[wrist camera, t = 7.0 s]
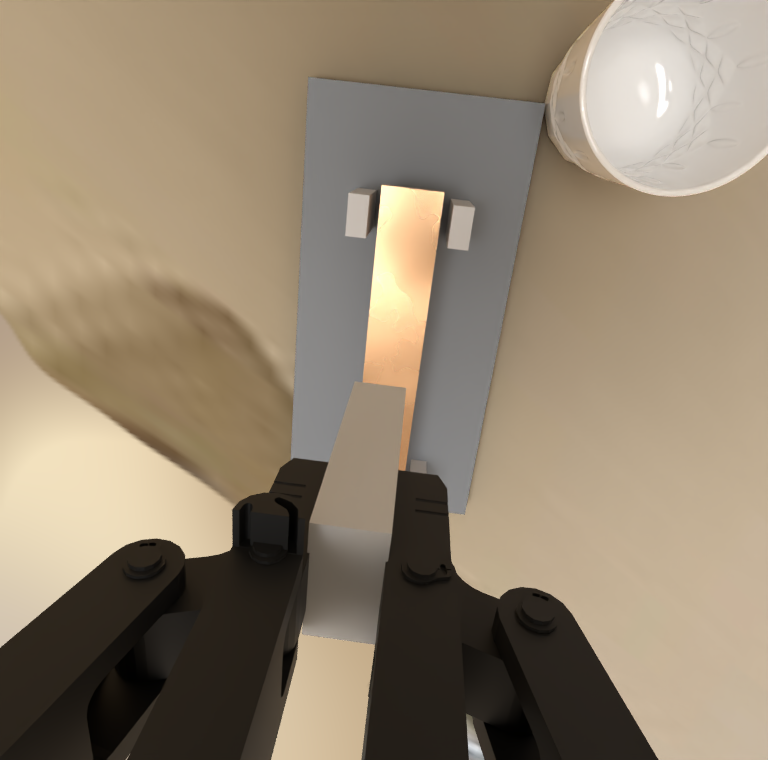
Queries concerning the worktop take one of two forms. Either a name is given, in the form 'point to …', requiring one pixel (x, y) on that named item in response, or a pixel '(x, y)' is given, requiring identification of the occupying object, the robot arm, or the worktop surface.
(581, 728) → the robot arm
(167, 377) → the worktop surface
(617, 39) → the white cup
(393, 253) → the strap
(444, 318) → the mount
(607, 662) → the worktop surface
